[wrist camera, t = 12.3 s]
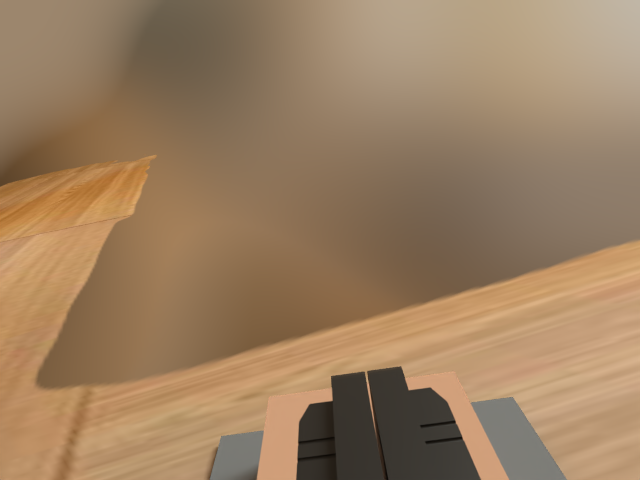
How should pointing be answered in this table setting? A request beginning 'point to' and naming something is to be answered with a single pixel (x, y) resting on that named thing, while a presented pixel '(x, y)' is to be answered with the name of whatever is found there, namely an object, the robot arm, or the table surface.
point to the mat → (494, 415)
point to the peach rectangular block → (288, 410)
